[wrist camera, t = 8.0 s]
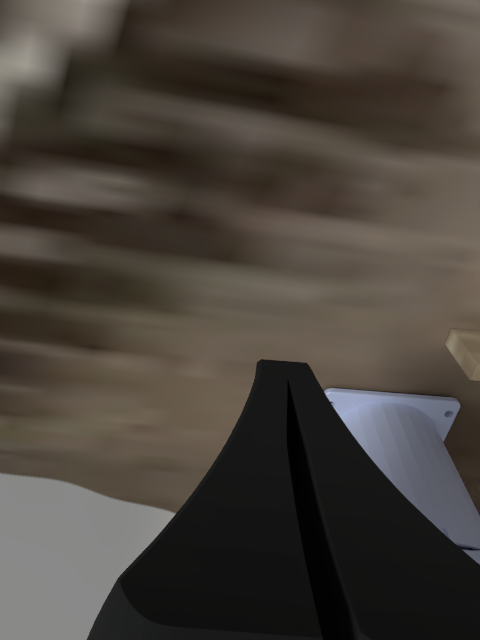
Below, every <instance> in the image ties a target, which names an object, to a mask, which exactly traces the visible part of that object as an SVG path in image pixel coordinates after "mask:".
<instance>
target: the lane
mask: <svg viewBox="0 0 480 640" xmlns="http://www.w3.org/2000/svg"><path fill="white" fill-rule="evenodd" d="M445 345H446V346H447V348H448V349H449V350H450V352H451V353H452V355H453V356H454V358H455V359H456V361H457V362H458V364H459V365H460V367H461V368H462V370H463V371H464V372H465V374H466V375H467V377H468V378H469V380H474V381H480V331H474V330H461V329H451V331H450V334H449V336H448V338H447V341H446V343H445Z"/></svg>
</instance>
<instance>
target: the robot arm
mask: <svg viewBox="0 0 480 640" xmlns="http://www.w3.org/2000/svg"><path fill="white" fill-rule="evenodd" d="M331 402H333V403H331ZM459 409H460V403H459V401H458V400H457V399H456V398H452V397H440V396H427V395H414V394H402V393H389V392H376V391H363V390H351V389H338V388H329V389H327V390H325V391H323V389H322V388H321V386H320V384H319V383H318V381H317V379H316V377H315V375H314V374H313V372H312V370H311V368H310V366H309V365H308V364H307V363H301V362H288V361H276V360H263V359H261V360H260V361H258V362H257V366H256V375H255V379H254V383H253V386H252V389H251V392H250V394H249V397H248V399H247V402H246V404H245V406H244V409H243V411H242V413H241V415H240V417H239V419H238V421H237V423H236V425H235V427H234V429H233V431H232V433H231V435H230V437H229V439H228V440H227V442H226V444H225V446H224V447H223V449H222V451H221V452H220V454H219V456H218V457H217V459H216V460H215V462H214V463H213V465H212V466H211V468H210V469H209V471H208V472H207V474H206V475H205V477H204V478H203V479H202V481H201V482H200V484H199V485H198V487H197V488H196V489H195V491H194V492H193V493H192V495H191V496H190V497H189V499H188V500H187V501H186V502H185V504H184V505H183V506H182V507H181V509H180V510H179V511H178V512H177V513H176V515H175V516H174V517H173V518H172V519H171V521H170V522H169V523H168V524H167V525H166V527H165V528H164V529H163V530H162V532H161V533H160V534H159V535H158V536H157V537H156V538H155V540H154V541H153V542H152V543H151V544H150V545H149V546H148V547H147V548H146V549H145V550H144V551H143V552H142V553H141V554H140V555H139V556H138V557H137V558H136V560H135V561H134V562H133V563H132V564H131V565H130V566H129V567H128V568H127V569H126V570H125V571H124V572H123V573H122V574H121V575H120V577H119V578H118V579H117V581H116V583H115V584H114V586H113V588H112V590H111V592H110V593H109V595H108V597H107V599H106V601H105V603H104V604H103V606H102V608H101V610H100V612H99V614H98V616H97V618H96V620H95V622H94V624H93V627H92V629H91V631H90V633H89V636H88V638H87V640H480V515H479V513H478V511H477V509H476V507H475V505H474V503H473V501H472V499H471V497H470V495H469V493H468V491H467V489H466V487H465V485H464V483H463V481H462V479H461V477H460V475H459V473H458V471H457V469H456V467H455V465H454V463H453V461H452V459H451V457H450V455H449V453H448V451H447V449H446V447H445V445H444V443H443V442H444V440H445V438H446V436H447V434H448V432H449V430H450V428H451V426H452V424H453V421H454V419H455V417H456V415H457V413H458V411H459ZM447 411H449V412H447ZM445 412H446V413H445Z"/></svg>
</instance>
